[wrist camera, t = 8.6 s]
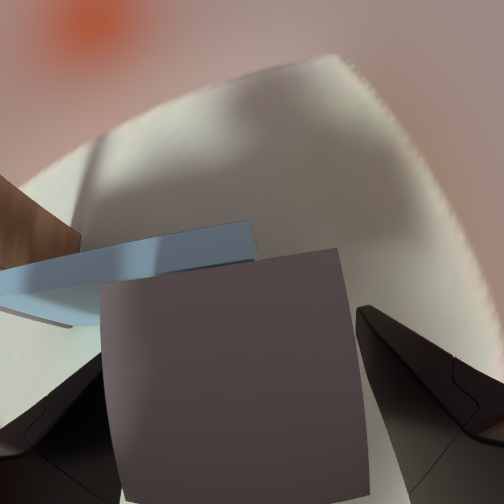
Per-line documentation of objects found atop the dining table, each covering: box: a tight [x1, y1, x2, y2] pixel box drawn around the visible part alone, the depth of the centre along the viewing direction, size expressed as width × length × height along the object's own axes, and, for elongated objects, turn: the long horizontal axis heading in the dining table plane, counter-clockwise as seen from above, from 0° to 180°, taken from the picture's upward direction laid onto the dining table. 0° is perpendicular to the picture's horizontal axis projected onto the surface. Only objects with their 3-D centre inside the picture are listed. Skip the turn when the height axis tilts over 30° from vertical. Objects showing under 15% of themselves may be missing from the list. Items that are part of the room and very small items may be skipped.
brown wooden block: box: [0, 175, 81, 271], centre depth 14 cm, size 5×1×10 cm, turn 7°
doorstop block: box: [100, 248, 370, 504], centre depth 10 cm, size 5×5×11 cm
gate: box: [0, 220, 261, 328], centre depth 13 cm, size 15×1×8 cm, turn 97°
